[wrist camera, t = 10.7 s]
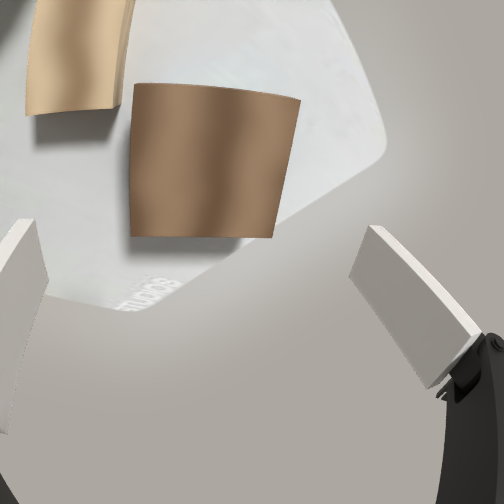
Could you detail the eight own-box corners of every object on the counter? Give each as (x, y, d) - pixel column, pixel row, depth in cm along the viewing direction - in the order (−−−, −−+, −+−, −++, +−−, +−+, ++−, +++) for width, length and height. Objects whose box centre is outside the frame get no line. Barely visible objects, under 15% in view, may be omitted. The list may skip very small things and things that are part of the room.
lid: (134, 221, 25) (130, 236, 23) (138, 83, 19) (134, 84, 17) (264, 224, 29) (271, 238, 27) (289, 96, 22) (300, 100, 20)
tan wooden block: (43, 109, 20) (25, 116, 17) (61, -25, 13) (47, -36, 10) (121, 103, 23) (112, 108, 19) (143, -35, 15) (139, -50, 12)
